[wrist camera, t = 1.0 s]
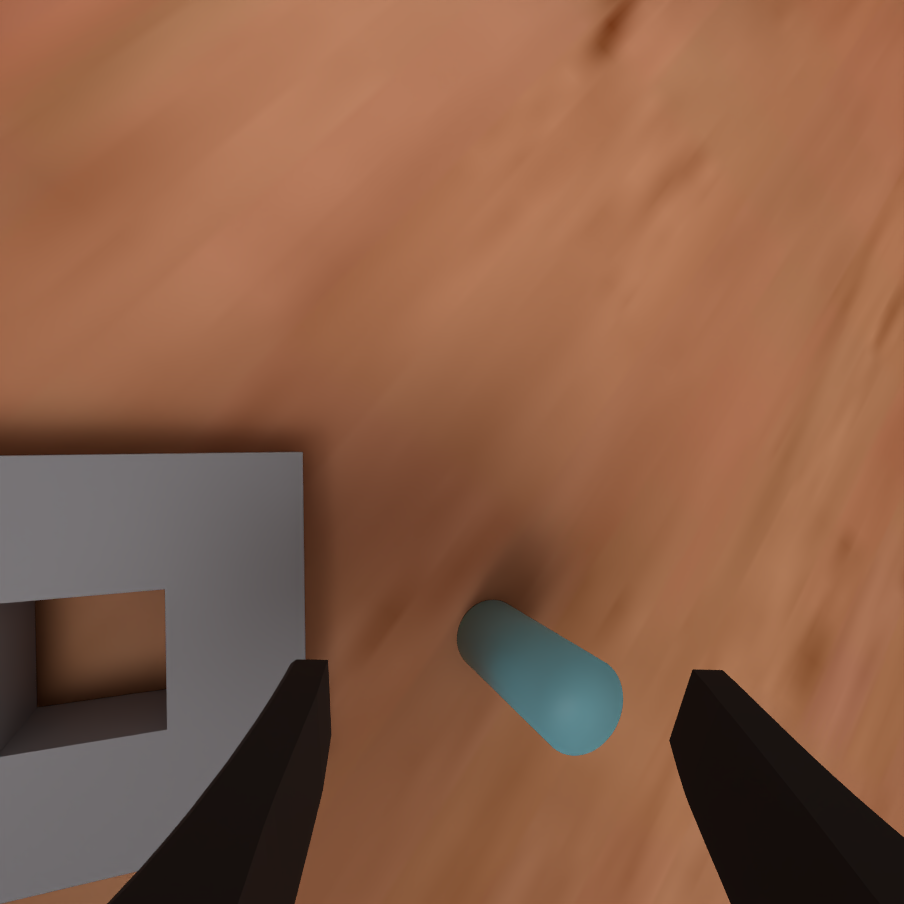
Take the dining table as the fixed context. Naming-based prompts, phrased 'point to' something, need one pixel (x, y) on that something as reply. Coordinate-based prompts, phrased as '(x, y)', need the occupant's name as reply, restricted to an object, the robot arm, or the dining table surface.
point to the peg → (542, 676)
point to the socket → (187, 645)
